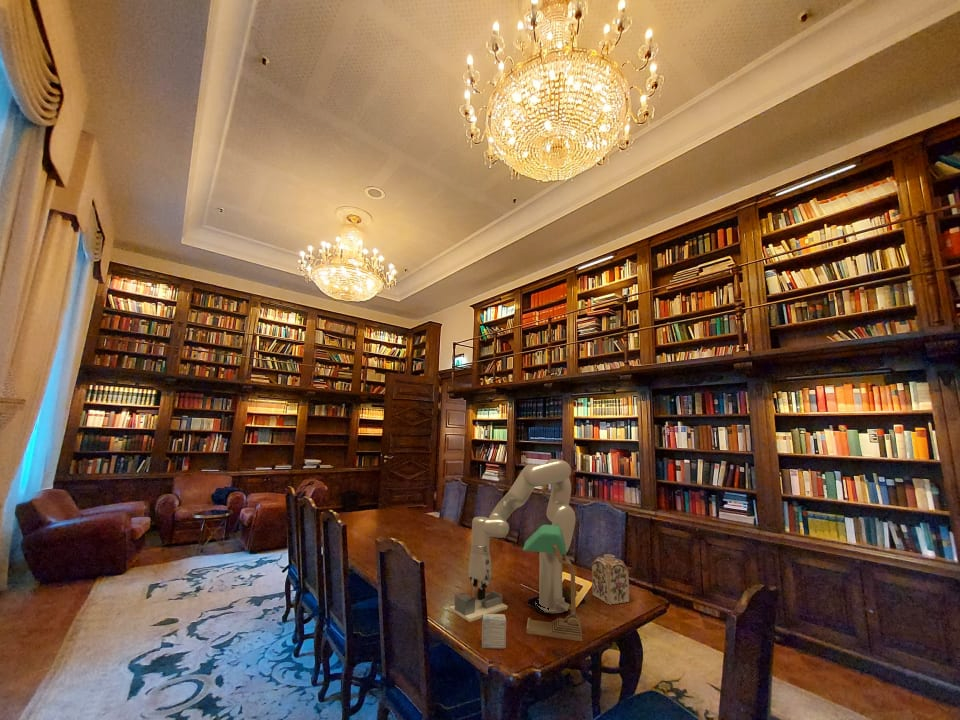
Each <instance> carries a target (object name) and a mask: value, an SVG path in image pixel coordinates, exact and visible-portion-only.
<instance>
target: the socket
mask: <svg viewBox="0 0 960 720" xmlns="http://www.w3.org/2000/svg"><path fill="white" fill-rule="evenodd" d="M454 605H455V608H454V609H455V610H456V611H458V612H460V613H461V614H463V615H465V616H466V615H469V614H472V613H475V598H474V597H472V595H470V594H468V593H466V592H463V593H459V594H456V595H455V596H454Z"/></svg>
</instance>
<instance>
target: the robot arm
mask: <svg viewBox="0 0 960 720" xmlns="http://www.w3.org/2000/svg"><path fill="white" fill-rule="evenodd" d="M571 474H572V468H571V465H570V464H569V463H568V462H567V461H565V460H563V459H558V458H557V459H556V458H551V459H548V460H547V461H546V462H545V463H544V464H540V465H539V464H538V465H535V464H527V465H526V466H524V467H523V469H522V470H521V471H520V473H519V475H518V476H517V478H516V479H515V481H514V482H513V484H512V485H511V486H510V488H509V490H508V491H507V493H506V494H505V495H504V496H503V497H502V498H501V499H500V501H499V502H498V503H497V504H496V505H495V507H494V508H493V510H492V512H491V513H490V515H489V516H488V517H487V516H475V517H473V518H472V521H471V539H470V540H471V543H470V544H471V545H470V554H469V559H468V571H467V576H468V577H469V580H470V584H471V587H472V586H474V585H477V584H480V589H479V594H478V600H483V599H485V594H486V589H487V588H488V586H489V585H491V584H492V581H491V580H492V558H491V557H492V556H491V554H490V537H491V538H492V537H493V538H498V539H499V538H504V537H506V536H507V535H508V534H509V531H510V526H509V523H508V521H507V520H508V518H509V517H510V515H512V513H513V512H514V511H515V510H516V509H518V508H521V507H522V506H523V505H525V504H526V502H527V501H528V499H529V497H530V496H531V494H532V493H533V491H534V489H535V488H536V487H543V486H548V485H551V491H550V494H549V495H550V496H549V499H548V504H547V508H546V517H547V519H548V520H549V522H551V525H557V526H559V527H560V528H561V530H562V534H563V537H564V541H565V544H566V554H567V553H568V551H569V550H570V547H571V543H572V540H573V536H574V535H573V534H574V530H575V525H576V513H575V511H574V509H573V508H572V506H571V505H570V501H571V495H572V494H571V493H572V482H571V479H570V476H571ZM538 553H539V554H538V555H539V556H538V557H539V571H538V573H539V577H538V578H539V579H538V580H539V581H538V582H539V588H538V589H539V591H538V592H539V594H538V595H539V596H538V597H539V598H538V600H539V604H540V605H541V606H543V607H545V608H543V607H540V606H538V605H537V606H538V607H539V608H540V609H541V610H543V611H544V612H543V611H542V612H543V613H548V614H561V613H564V612H567V611H569V607H570V603H568V602H566V601H565V597H564V596H563V564H562V563H560V562H559V561H558V558H557V555H556V554H555V553H545V552H538ZM561 556H562V555H561ZM536 604H537V603H536V602H535V605H536ZM547 608H549V610H548V609H547ZM541 610H540V611H541Z"/></svg>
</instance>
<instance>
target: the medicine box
mask: <svg viewBox="0 0 960 720" xmlns="http://www.w3.org/2000/svg"><path fill="white" fill-rule="evenodd" d="M481 620H482V623H481V649H507V647H506V643H507V637H506V636H507V635H506V634H507V618H506V615H505V614H501V613H500V614H499V613H494V614H482V618H481Z"/></svg>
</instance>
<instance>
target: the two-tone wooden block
mask: <svg viewBox="0 0 960 720" xmlns="http://www.w3.org/2000/svg"><path fill="white" fill-rule="evenodd" d="M479 589H480V583H478V584H477V585H474V586H472V585H471V596H472V597H474V598H475V609H478V608H481V607H484V602H485V599H483V600H478V594H479Z"/></svg>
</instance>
